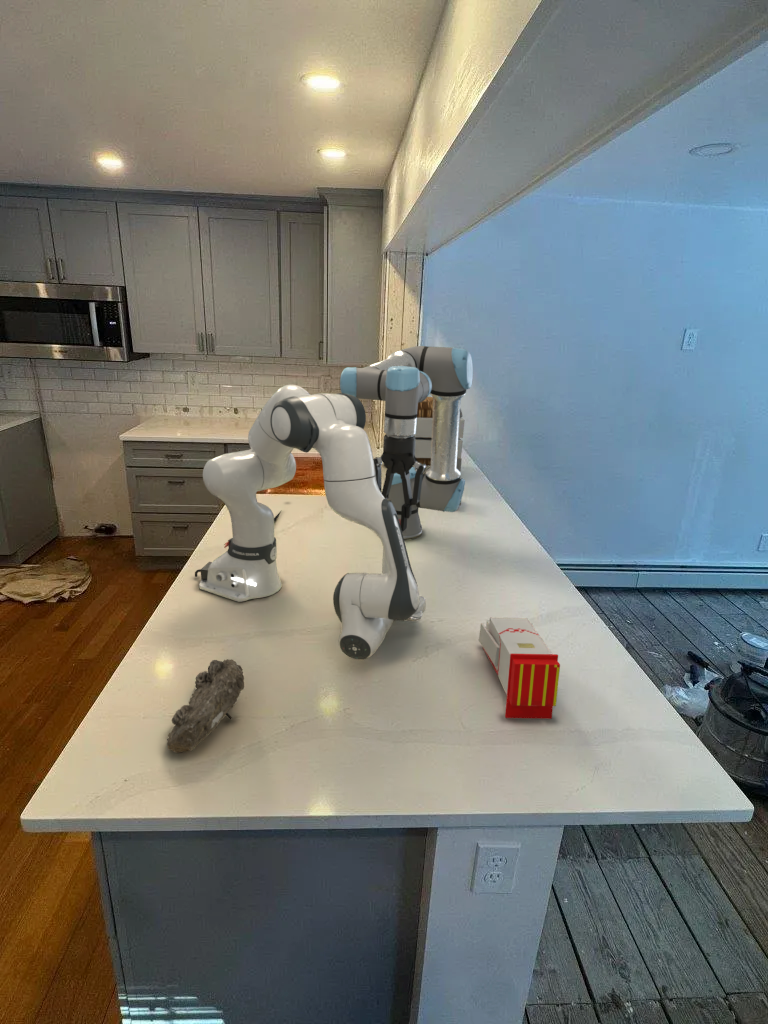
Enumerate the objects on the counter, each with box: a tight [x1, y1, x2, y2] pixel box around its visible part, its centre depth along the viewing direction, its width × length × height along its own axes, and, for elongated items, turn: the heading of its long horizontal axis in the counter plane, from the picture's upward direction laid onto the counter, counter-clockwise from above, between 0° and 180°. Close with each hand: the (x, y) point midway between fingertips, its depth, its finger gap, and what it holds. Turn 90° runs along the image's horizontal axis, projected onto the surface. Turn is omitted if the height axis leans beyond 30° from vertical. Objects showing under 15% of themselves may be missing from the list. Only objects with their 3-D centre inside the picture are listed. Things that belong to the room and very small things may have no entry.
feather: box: [274, 510, 282, 524], centre depth 212 cm, size 2×28×2 cm
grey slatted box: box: [382, 396, 465, 475], centre depth 268 cm, size 34×33×41 cm
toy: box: [478, 616, 561, 720], centre depth 122 cm, size 12×13×30 cm
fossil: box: [166, 658, 245, 754], centre depth 106 cm, size 22×10×15 cm
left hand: (392, 587), depth 147 cm, fingers closed on bottle, 5 cm apart
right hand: (394, 527), depth 140 cm, fingers closed on cap, 4 cm apart
